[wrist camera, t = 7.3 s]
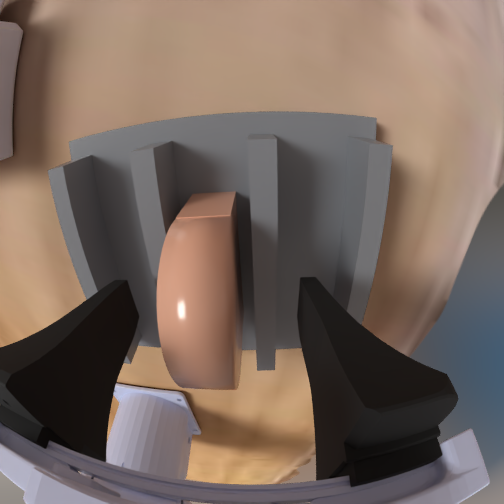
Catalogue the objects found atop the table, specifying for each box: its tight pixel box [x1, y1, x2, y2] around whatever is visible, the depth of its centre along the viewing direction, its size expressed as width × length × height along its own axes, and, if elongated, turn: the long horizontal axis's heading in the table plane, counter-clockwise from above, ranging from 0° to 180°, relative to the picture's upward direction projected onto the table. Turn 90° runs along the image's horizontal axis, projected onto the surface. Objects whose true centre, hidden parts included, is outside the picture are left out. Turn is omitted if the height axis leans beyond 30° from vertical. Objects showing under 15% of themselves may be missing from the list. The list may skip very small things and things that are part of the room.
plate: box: [157, 191, 244, 390], centre depth 11 cm, size 7×2×7 cm, turn 2°
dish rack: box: [48, 112, 393, 371], centre depth 13 cm, size 14×15×4 cm
